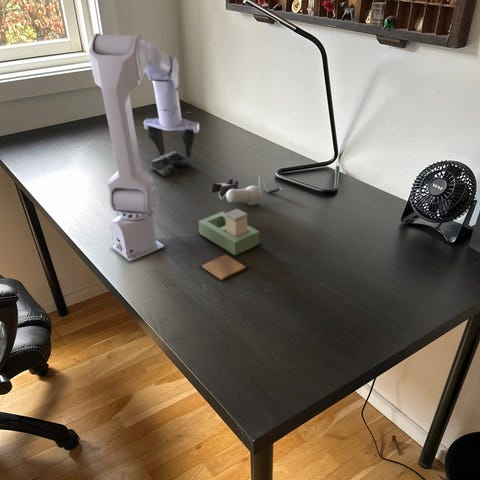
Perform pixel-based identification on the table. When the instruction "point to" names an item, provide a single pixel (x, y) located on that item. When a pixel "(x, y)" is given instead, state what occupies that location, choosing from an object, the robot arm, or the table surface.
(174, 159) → the gaming controller
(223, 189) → the clip-on lamp
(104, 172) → the table surface
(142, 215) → the robot arm
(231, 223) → the cream rectangular block
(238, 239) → the holder
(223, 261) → the cork pad
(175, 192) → the table surface
